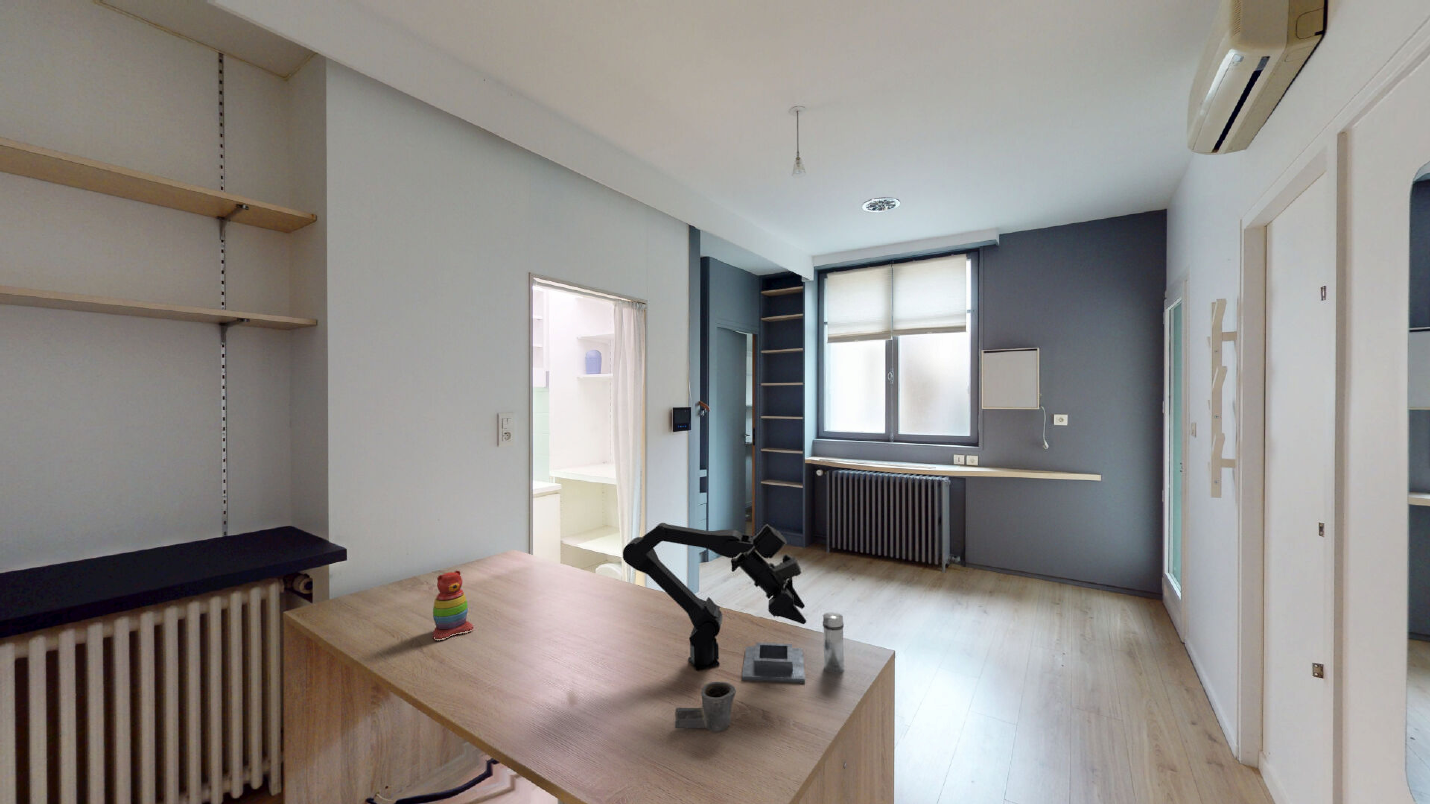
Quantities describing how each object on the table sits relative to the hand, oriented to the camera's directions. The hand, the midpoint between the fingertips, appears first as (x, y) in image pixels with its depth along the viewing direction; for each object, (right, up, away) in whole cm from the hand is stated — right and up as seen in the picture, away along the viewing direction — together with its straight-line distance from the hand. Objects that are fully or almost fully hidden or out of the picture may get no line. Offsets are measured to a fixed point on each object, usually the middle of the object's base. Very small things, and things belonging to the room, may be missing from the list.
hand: (804, 614), depth 131 cm
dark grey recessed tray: (-8, -13, +1) cm, 15 cm away
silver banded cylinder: (+7, -13, -1) cm, 15 cm away
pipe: (-24, -14, -23) cm, 36 cm away
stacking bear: (-102, -16, +26) cm, 106 cm away
